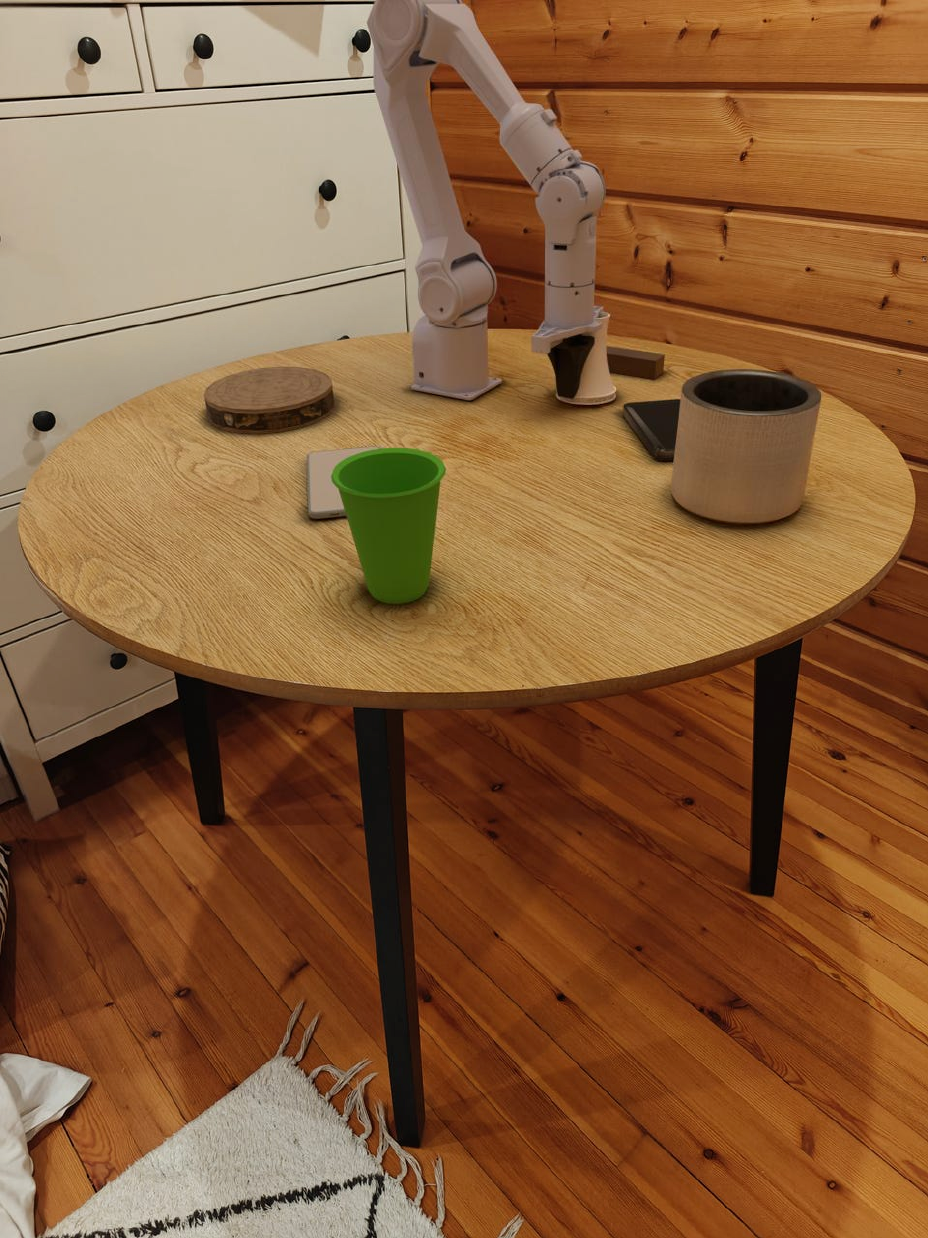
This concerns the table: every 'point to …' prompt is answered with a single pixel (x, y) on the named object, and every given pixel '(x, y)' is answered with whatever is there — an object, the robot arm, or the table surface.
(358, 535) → the cup
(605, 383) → the vase
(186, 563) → the table surface
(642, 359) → the bar
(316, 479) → the smartphone
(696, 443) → the planter
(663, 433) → the black beveled tile
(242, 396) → the wood slice
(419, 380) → the robot arm
